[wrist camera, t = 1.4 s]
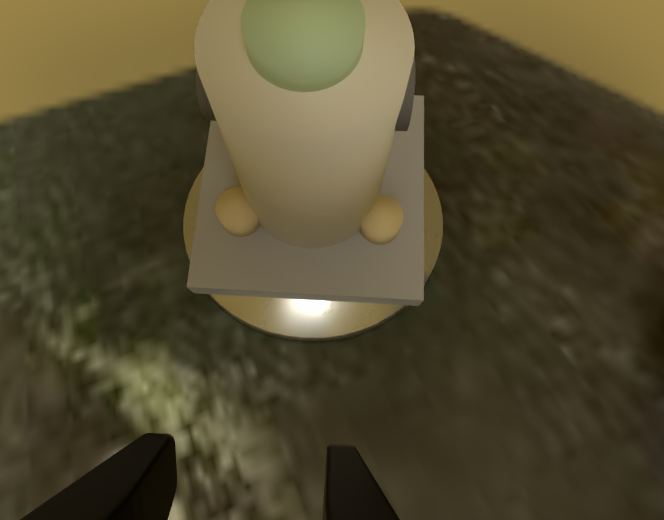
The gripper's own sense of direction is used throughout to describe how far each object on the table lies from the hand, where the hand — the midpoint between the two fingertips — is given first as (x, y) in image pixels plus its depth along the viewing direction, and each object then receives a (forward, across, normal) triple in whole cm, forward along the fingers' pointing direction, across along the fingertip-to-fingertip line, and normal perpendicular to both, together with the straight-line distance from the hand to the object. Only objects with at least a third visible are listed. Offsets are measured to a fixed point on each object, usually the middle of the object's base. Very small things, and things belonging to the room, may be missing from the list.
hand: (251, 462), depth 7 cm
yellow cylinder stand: (+17, 0, -1) cm, 17 cm away
